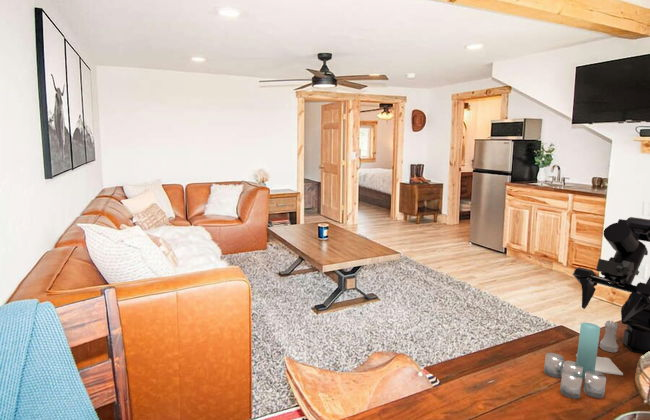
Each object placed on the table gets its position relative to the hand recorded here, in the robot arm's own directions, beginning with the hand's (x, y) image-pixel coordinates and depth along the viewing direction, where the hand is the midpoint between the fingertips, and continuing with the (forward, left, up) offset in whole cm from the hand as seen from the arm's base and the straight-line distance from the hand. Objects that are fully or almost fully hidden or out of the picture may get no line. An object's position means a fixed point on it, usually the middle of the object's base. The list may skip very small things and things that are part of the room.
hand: (602, 314), depth 102 cm
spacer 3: (+5, +12, -15) cm, 20 cm away
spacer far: (+10, +14, -15) cm, 23 cm away
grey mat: (-1, -2, -15) cm, 15 cm away
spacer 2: (+8, +9, -15) cm, 19 cm away
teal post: (+4, +5, -15) cm, 16 cm away
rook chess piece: (-8, -12, -15) cm, 21 cm away
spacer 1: (+11, +6, -15) cm, 19 cm away
